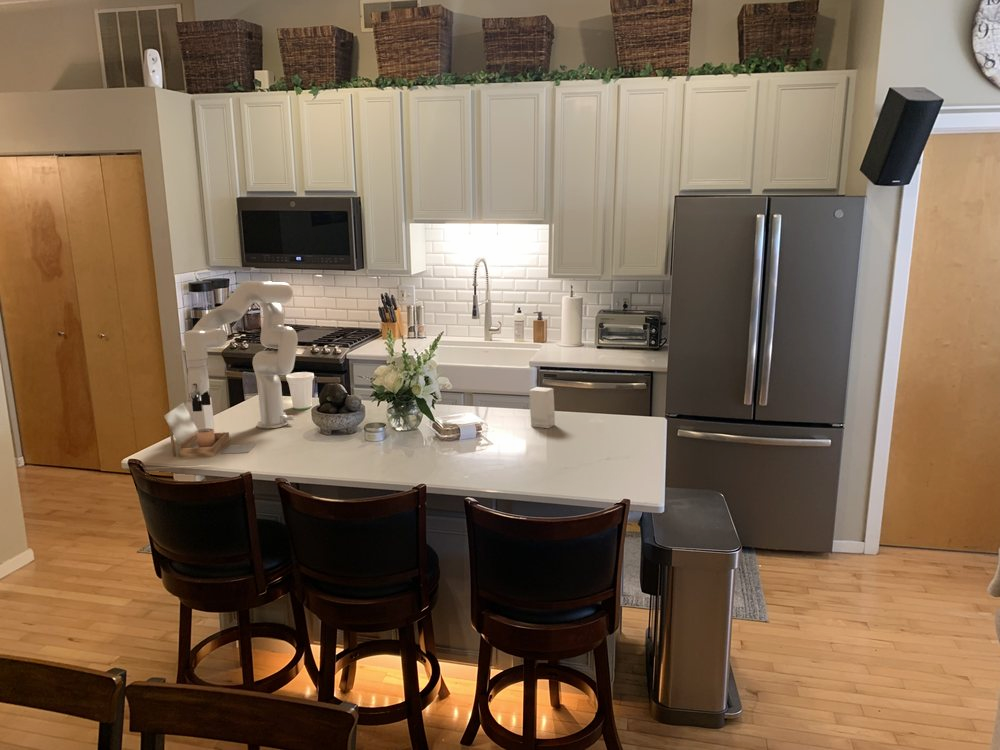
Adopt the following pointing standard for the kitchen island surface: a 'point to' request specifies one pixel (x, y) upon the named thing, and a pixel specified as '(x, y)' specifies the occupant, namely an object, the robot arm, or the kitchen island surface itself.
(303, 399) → the cup
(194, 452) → the box
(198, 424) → the milk carton
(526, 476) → the kitchen island surface
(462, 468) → the kitchen island surface
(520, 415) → the kitchen island surface
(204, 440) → the pot
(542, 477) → the kitchen island surface
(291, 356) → the robot arm
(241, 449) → the slate tile
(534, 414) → the skincare box
